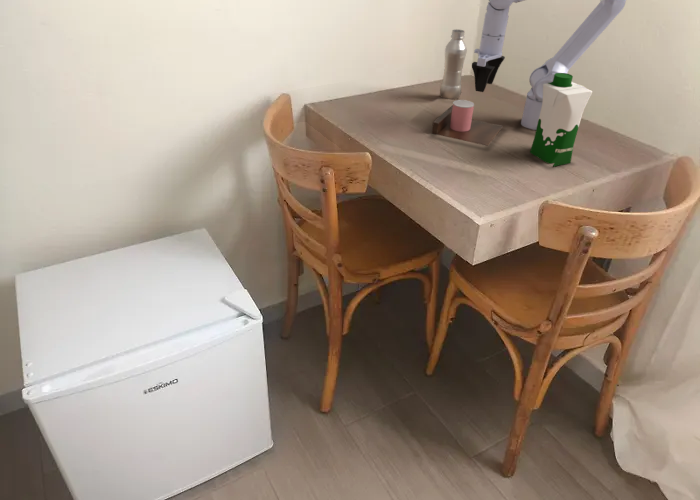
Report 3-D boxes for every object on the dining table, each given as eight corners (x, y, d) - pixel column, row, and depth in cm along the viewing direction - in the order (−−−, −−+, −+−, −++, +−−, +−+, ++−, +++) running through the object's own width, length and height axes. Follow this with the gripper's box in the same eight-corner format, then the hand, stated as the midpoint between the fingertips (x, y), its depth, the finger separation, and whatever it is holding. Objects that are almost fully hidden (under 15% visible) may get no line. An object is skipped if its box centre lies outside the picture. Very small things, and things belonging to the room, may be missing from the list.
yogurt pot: (473, 126, 145) (477, 102, 141) (466, 133, 141) (470, 108, 137) (453, 122, 147) (457, 98, 143) (446, 129, 143) (450, 104, 139)
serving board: (502, 130, 147) (505, 115, 144) (486, 150, 136) (489, 134, 133) (450, 119, 152) (452, 104, 150) (431, 137, 142) (433, 122, 139)
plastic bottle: (463, 98, 167) (473, 30, 155) (454, 104, 162) (464, 35, 151) (444, 94, 170) (452, 27, 158) (435, 100, 165) (443, 31, 153)
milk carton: (551, 149, 137) (571, 70, 125) (576, 164, 130) (600, 82, 119) (523, 155, 134) (541, 74, 122) (547, 170, 127) (569, 86, 116)
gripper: (486, 26, 143) (477, 77, 151) (469, 37, 132) (460, 91, 140) (512, 30, 140) (502, 82, 148) (497, 41, 130) (487, 97, 137)
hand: (483, 87), depth 144 cm, fingers open, 7 cm apart
